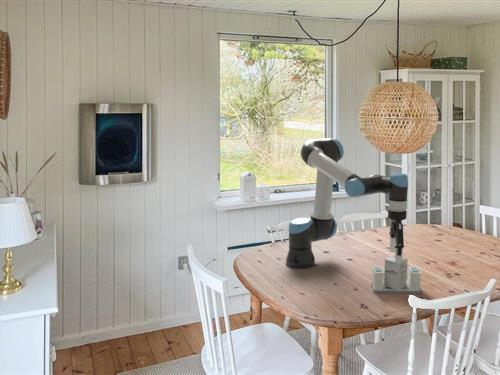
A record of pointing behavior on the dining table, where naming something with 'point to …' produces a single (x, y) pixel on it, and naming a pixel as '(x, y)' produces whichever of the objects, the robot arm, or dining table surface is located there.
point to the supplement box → (395, 273)
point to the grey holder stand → (410, 287)
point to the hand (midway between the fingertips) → (395, 256)
